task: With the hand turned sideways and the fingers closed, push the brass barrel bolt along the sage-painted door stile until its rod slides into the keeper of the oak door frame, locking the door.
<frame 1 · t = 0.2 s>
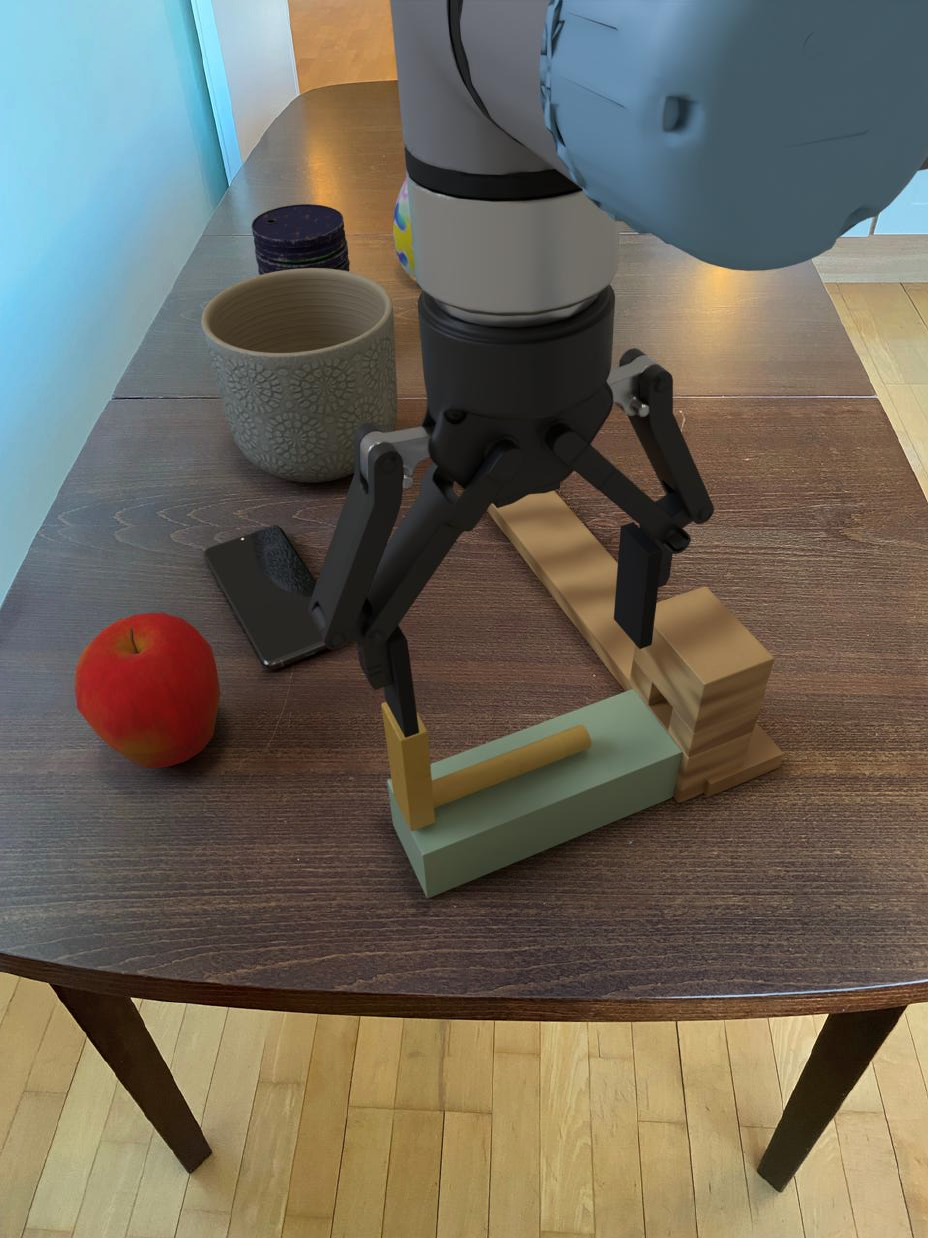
hand: (521, 673, 50), 17 cm above the table, tool pointing down, fingers open, 13 cm apart
bolt: (495, 734, 56), point 10 cm above the table, slide at 0.0 cm
decorative egg: (443, 277, 123), on the table
apple: (174, 747, 68), on the table
smartphone: (275, 599, 79), on the table
planter: (320, 454, 95), on the table
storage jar: (317, 353, 110), on the table
door frame: (547, 421, 98), on the table
door stile: (534, 811, 63), on the table
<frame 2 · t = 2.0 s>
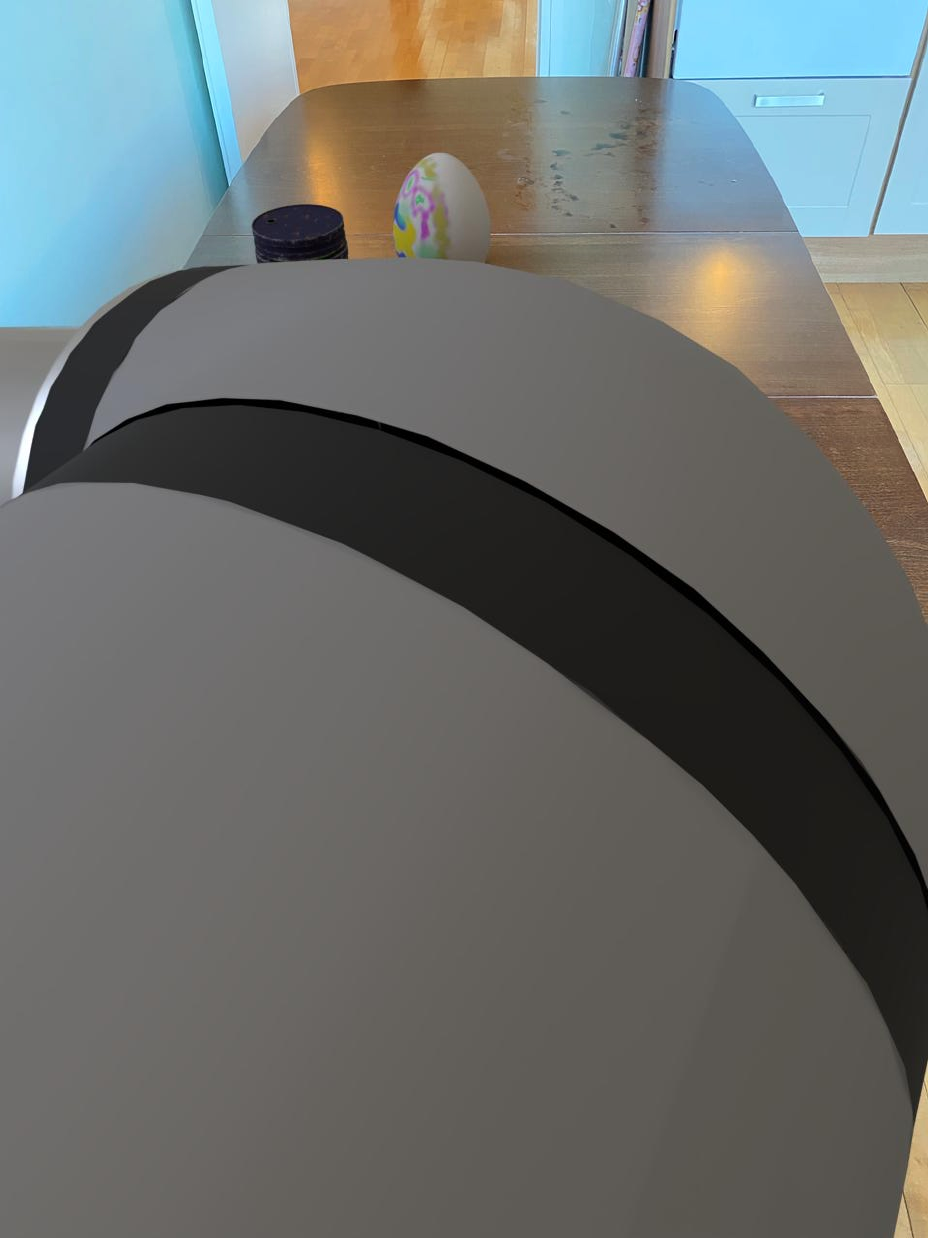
hand: (272, 606, 43), 25 cm above the table, tool horizontal, fingers open, 13 cm apart
nothing on the table moved.
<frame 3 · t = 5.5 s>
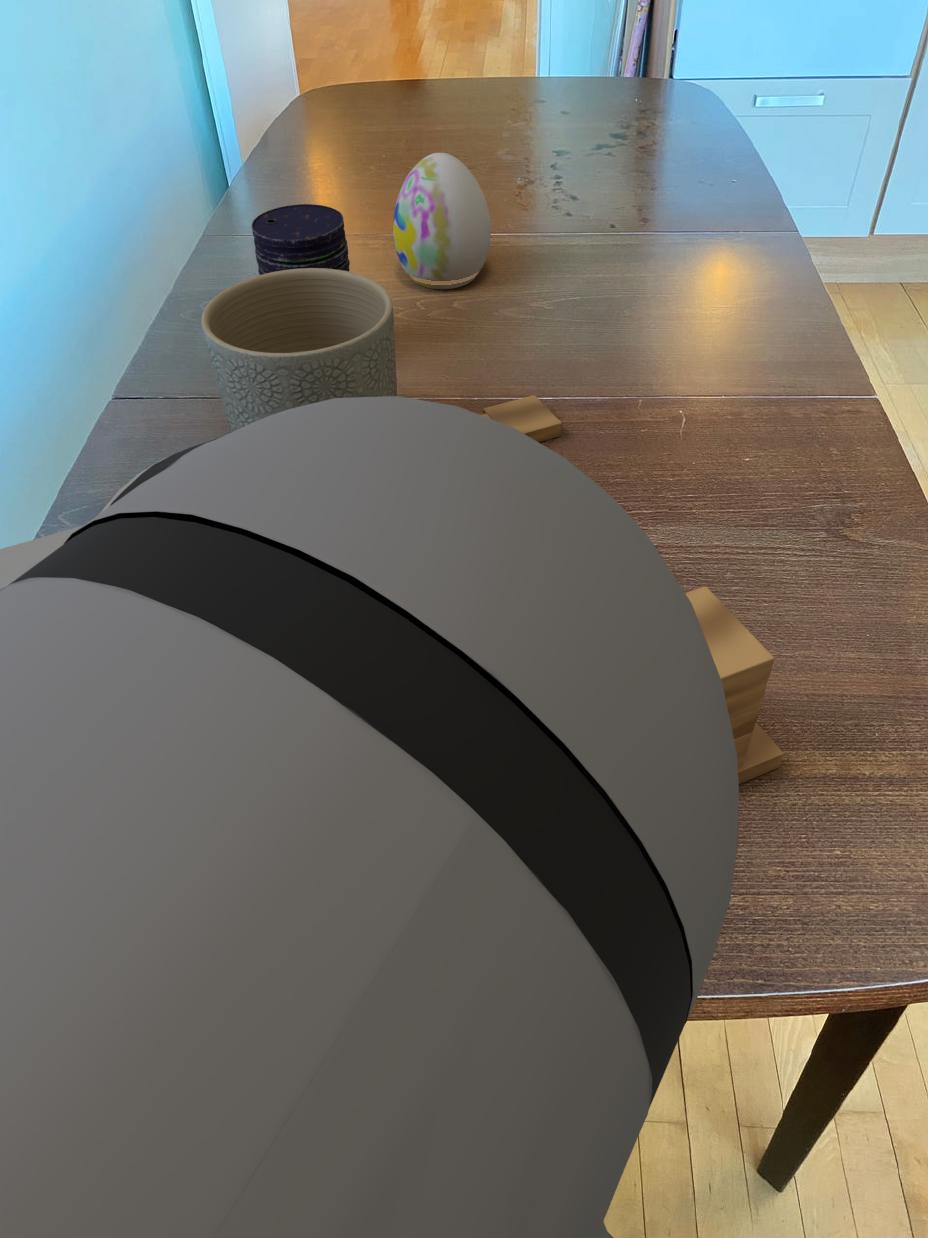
hand: (392, 748, 53), 12 cm above the table, tool horizontal, fingers closed
bolt: (498, 732, 56), point 10 cm above the table, slide at 0.2 cm, touching gripper
everything else where it was.
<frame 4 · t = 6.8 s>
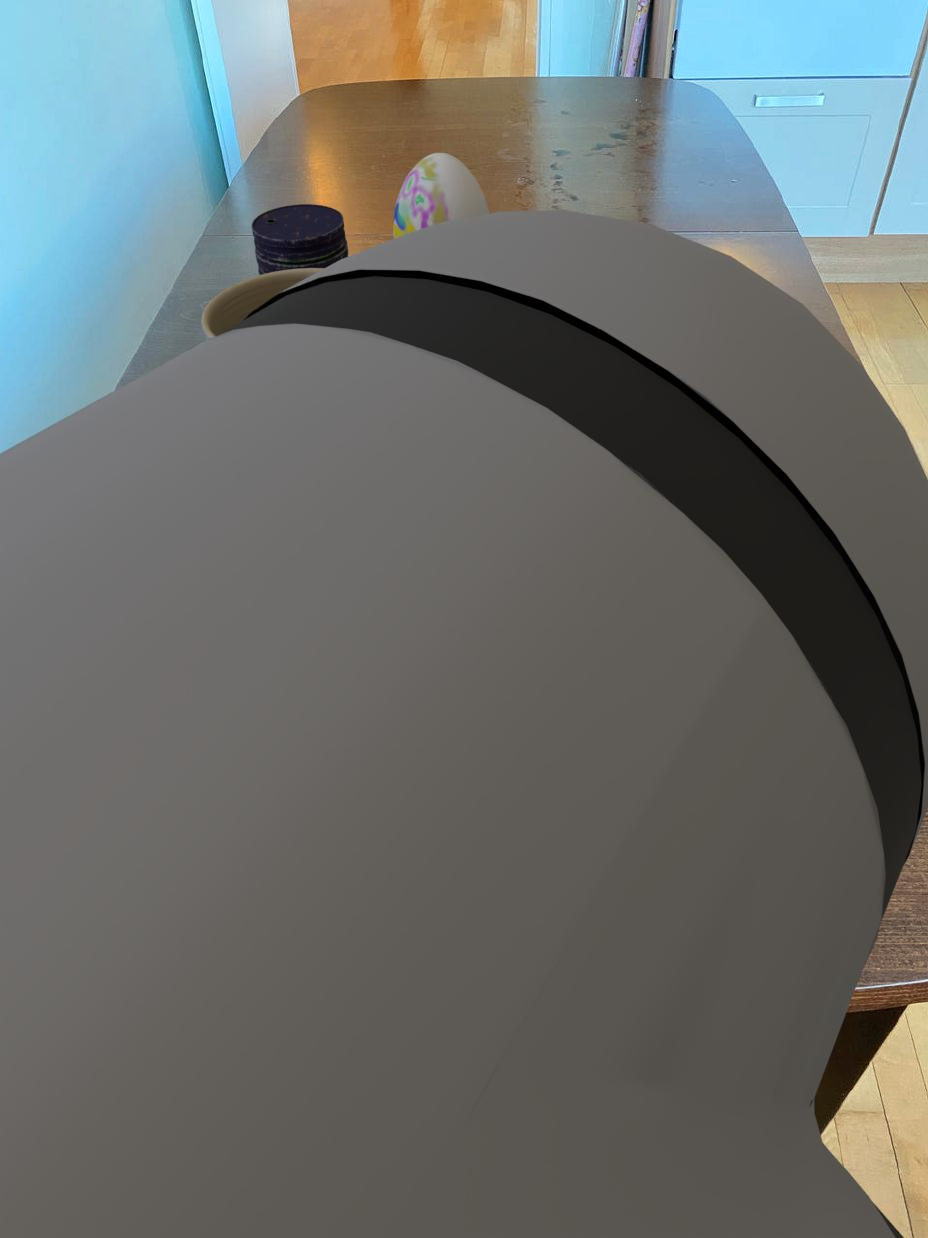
hand: (476, 721, 54), 11 cm above the table, tool horizontal, fingers closed
bolt: (575, 704, 57), point 10 cm above the table, slide at 5.3 cm, touching gripper
everything else where it was.
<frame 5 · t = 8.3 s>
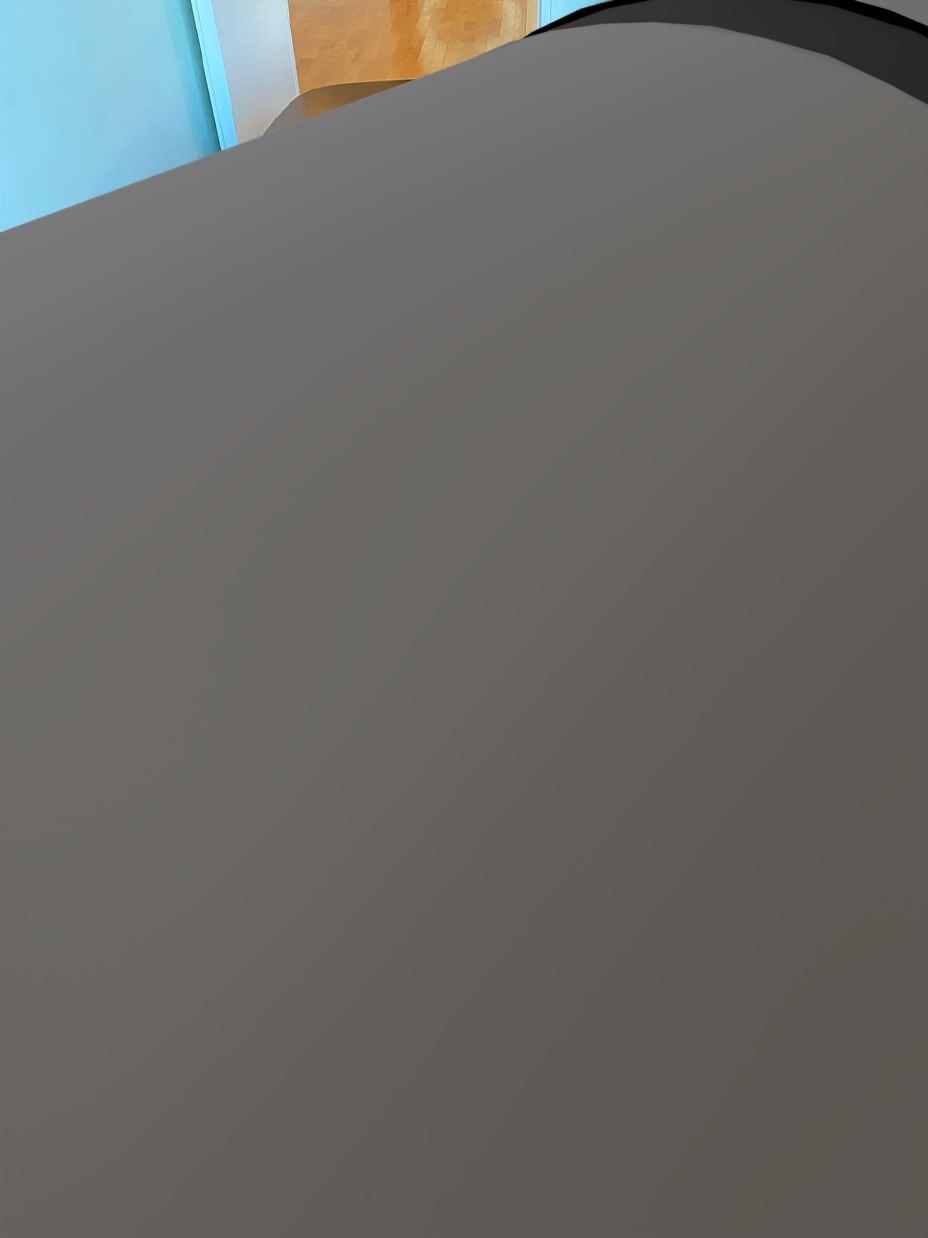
hand: (551, 694, 56), 11 cm above the table, tool horizontal, fingers closed
bolt: (643, 679, 59), point 10 cm above the table, slide at 10.2 cm, touching gripper
everything else where it was.
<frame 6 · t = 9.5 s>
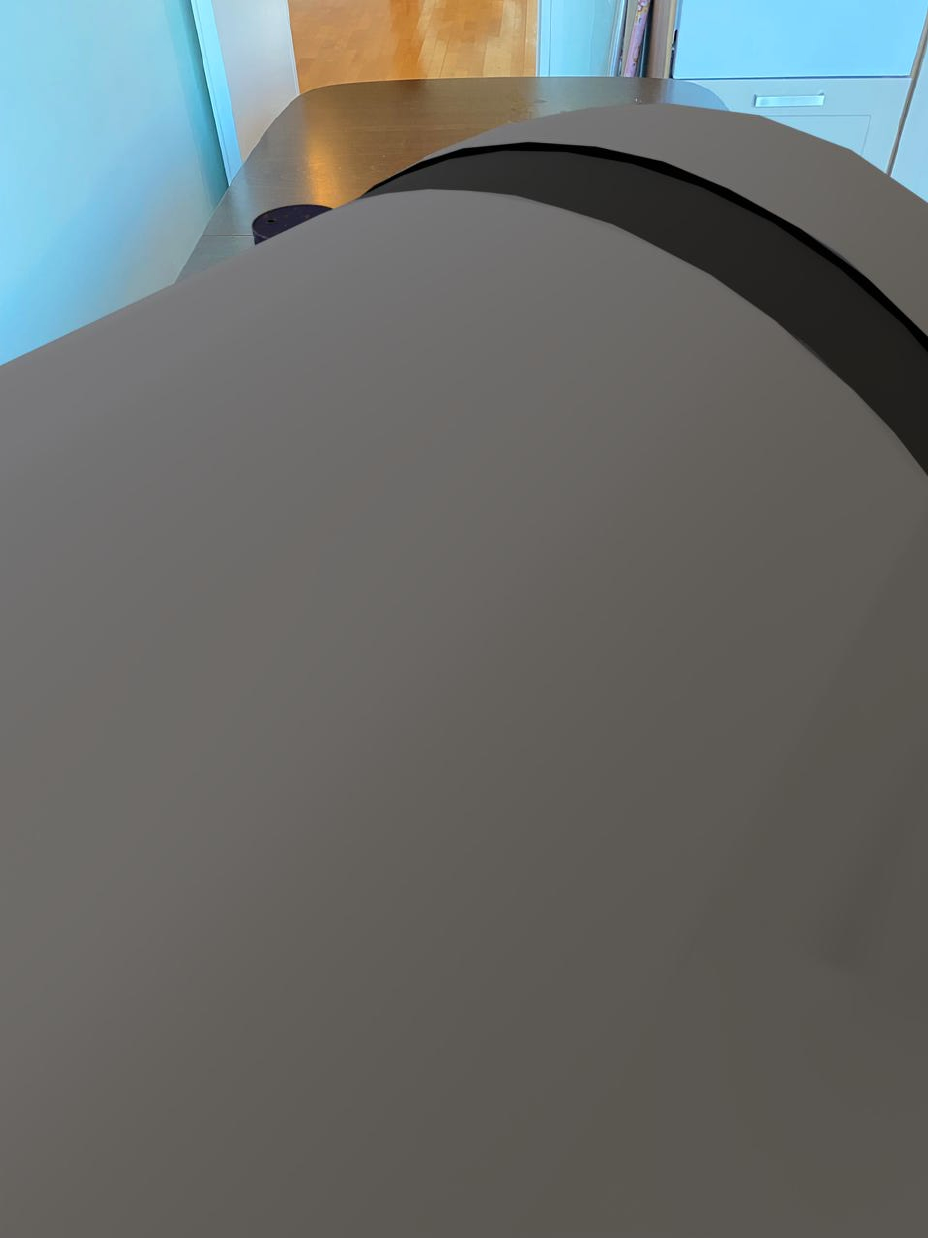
hand: (514, 705, 55), 12 cm above the table, tool horizontal, fingers closed
bolt: (627, 685, 59), point 10 cm above the table, slide at 9.0 cm
everything else where it was.
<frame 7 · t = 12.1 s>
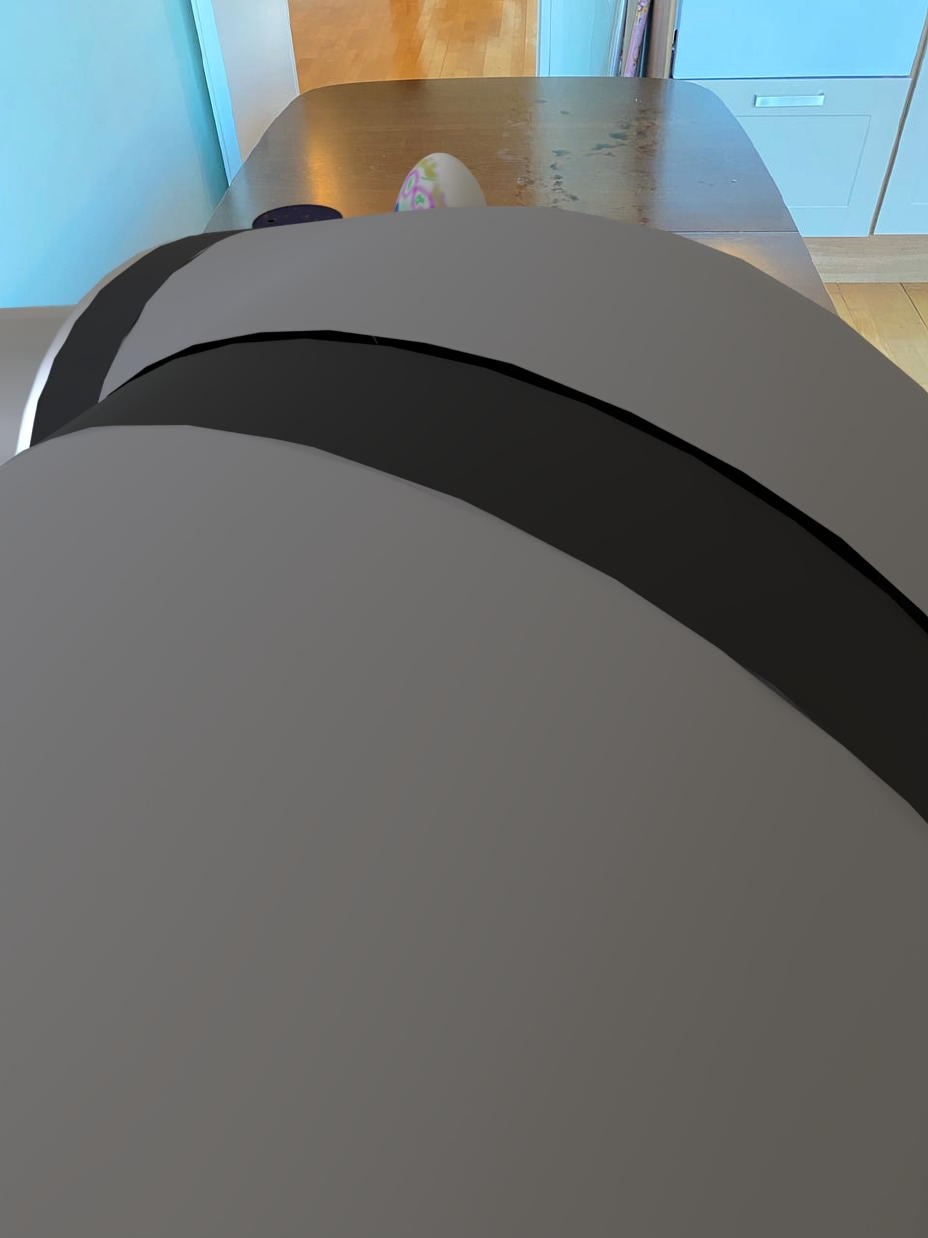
hand: (331, 585, 42), 26 cm above the table, tool horizontal, fingers closed
nothing on the table moved.
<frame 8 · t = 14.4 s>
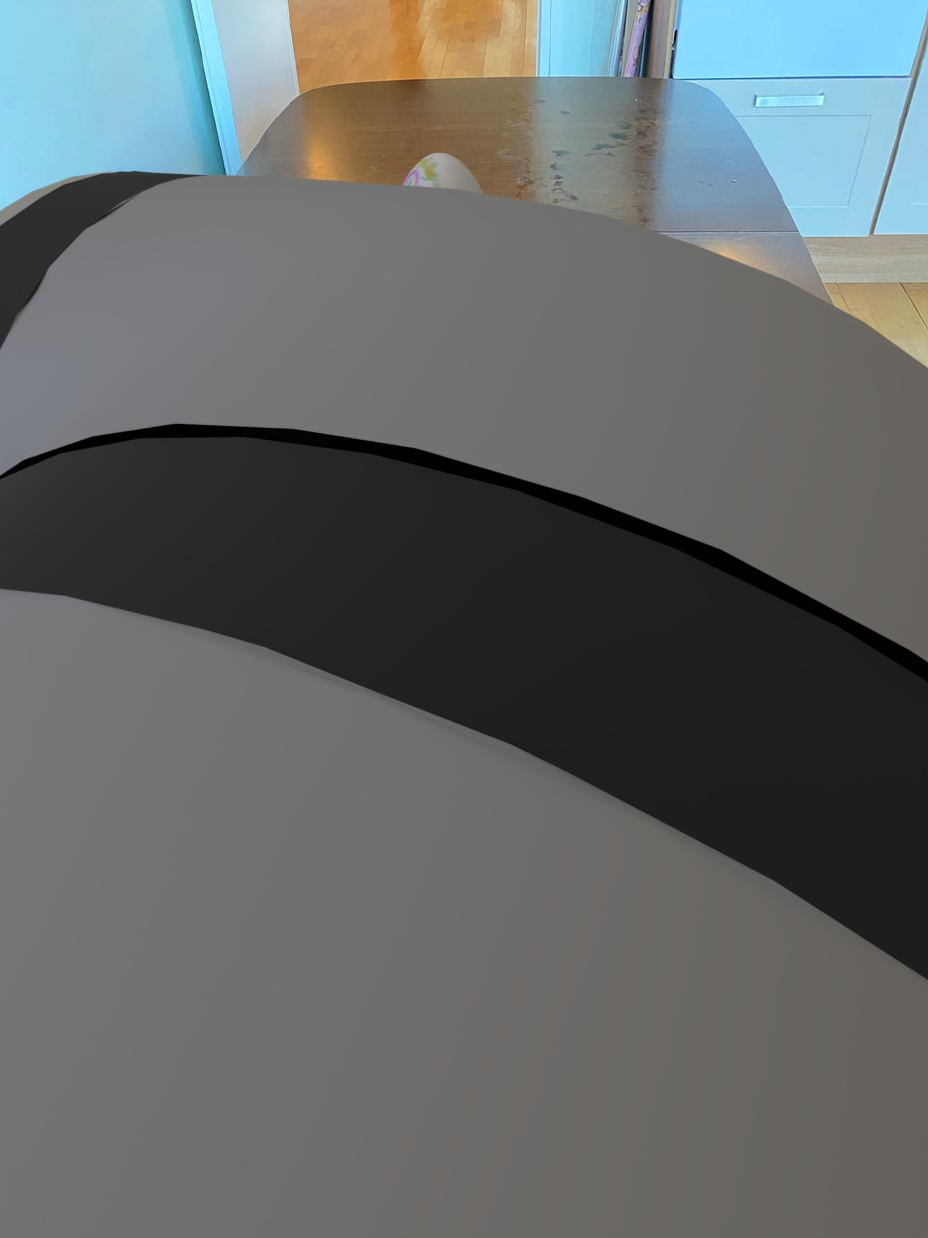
hand: (253, 530, 35), 32 cm above the table, tool horizontal, fingers closed
nothing on the table moved.
at the end: bolt slide at 9.0 cm; bolt 0.4 cm from the target spot on the door frame, point 9.7 cm above the door frame's base; the gripper is holding nothing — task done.
